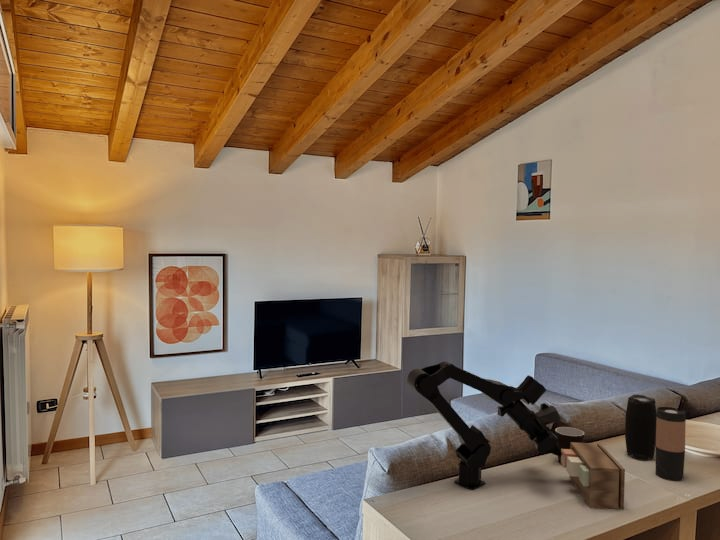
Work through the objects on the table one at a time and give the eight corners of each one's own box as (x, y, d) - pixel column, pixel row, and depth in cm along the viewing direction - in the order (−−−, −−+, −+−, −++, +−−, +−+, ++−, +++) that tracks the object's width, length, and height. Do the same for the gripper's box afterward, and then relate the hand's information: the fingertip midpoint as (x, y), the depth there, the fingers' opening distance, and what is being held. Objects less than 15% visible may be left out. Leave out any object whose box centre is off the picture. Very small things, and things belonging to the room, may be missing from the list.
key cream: (570, 476, 148) (570, 462, 148) (566, 470, 152) (566, 456, 152) (593, 477, 147) (593, 463, 147) (588, 471, 151) (588, 457, 151)
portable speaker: (662, 460, 174) (663, 400, 173) (638, 462, 171) (639, 402, 171) (641, 450, 182) (643, 393, 181) (618, 452, 180) (620, 395, 179)
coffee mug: (578, 458, 175) (579, 427, 174) (587, 468, 166) (588, 436, 166) (542, 456, 176) (542, 426, 176) (548, 466, 167) (549, 434, 167)
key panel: (590, 507, 140) (591, 467, 140) (569, 477, 159) (570, 442, 159) (623, 509, 140) (624, 469, 139) (599, 479, 158) (599, 443, 158)
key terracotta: (564, 467, 154) (564, 453, 154) (560, 462, 158) (561, 448, 158) (586, 468, 153) (586, 454, 153) (582, 463, 157) (582, 449, 157)
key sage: (583, 486, 142) (583, 471, 142) (579, 479, 146) (579, 465, 146) (607, 487, 141) (607, 472, 141) (602, 480, 145) (602, 466, 145)
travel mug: (656, 478, 159) (658, 412, 158) (653, 469, 166) (655, 405, 165) (686, 483, 156) (688, 415, 155) (681, 473, 163) (683, 408, 163)
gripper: (551, 406, 147) (592, 448, 146) (535, 389, 165) (572, 426, 165) (521, 434, 148) (561, 475, 147) (509, 413, 166) (545, 450, 166)
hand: (560, 455), depth 156 cm, fingers closed
